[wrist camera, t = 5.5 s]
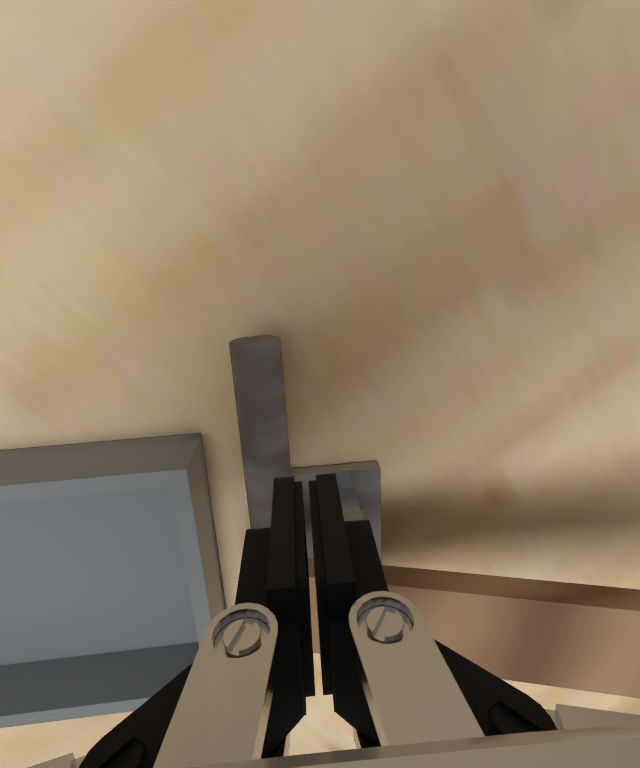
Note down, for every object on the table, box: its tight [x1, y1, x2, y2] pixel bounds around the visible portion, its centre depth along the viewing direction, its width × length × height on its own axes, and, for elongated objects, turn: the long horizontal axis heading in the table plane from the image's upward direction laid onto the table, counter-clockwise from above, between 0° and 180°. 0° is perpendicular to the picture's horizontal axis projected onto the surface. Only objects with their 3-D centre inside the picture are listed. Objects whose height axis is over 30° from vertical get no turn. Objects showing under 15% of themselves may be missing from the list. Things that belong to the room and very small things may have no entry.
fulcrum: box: [291, 461, 381, 561], centre depth 23 cm, size 5×9×7 cm, turn 3°
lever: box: [229, 336, 640, 698], centre depth 17 cm, size 26×16×3 cm, turn 93°
